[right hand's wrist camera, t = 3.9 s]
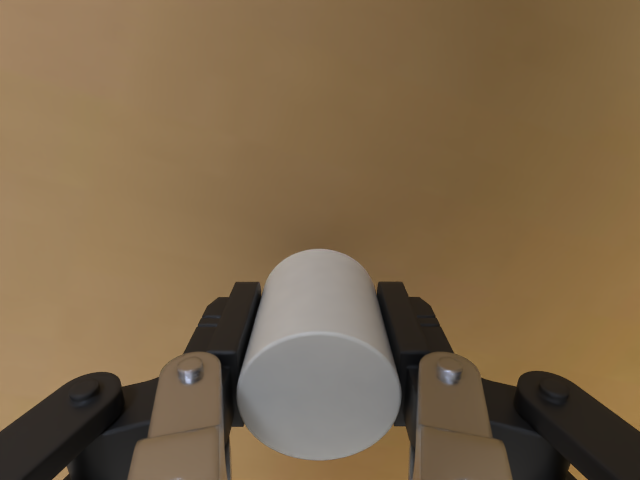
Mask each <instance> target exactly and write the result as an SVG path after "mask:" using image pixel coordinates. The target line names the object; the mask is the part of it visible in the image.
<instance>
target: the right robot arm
mask: <svg viewBox="0 0 640 480" xmlns="http://www.w3.org/2000/svg"><path fill="white" fill-rule="evenodd" d="M377 299H378V302H379V306H380V310H381V313H382V317H383V321H384V325H385V328H386V332H387V336H388V340H389V343H390V347H391V351H392V354H393V358H394V362H395V366H396V369H397V373H398V377H399V380H400V384H401V392H402V397H401V405H400V409H399V413H398V415H397V417H396V420H395V422H394V426H406V428H407V432H408V436H409V440H410V447H409V469H408V480H577V479H576V478H575V477H574V476H573V475H572V474H571V473H570V472H568V469H569V466H570V463H571V464H572V465H573V466H574V467H575V468H576V469H577V470H578V471H579V472H580V473H581V474H583V475H584V476H585V477H586V478H587V479H588V480H640V432H639V431H638V430H637V429H635V428H634V427H633V426H631V425H630V424H629V423H627V422H626V421H624V420H623V419H622V418H620V417H619V416H618V415H616V414H615V413H614V412H612V411H611V410H609V409H608V408H607V407H605V406H604V405H603V404H601V403H600V402H599V401H597V400H596V399H595V398H593V397H592V396H590V395H589V394H588V393H586V392H585V391H584V390H582V389H581V388H580V387H578V386H577V385H575V384H574V383H572V382H571V381H569V380H567V379H565V378H563V377H561V376H559V375H556V374H553V373H549V372H543V371H531V372H527V373H524V374H523V375H521V376H520V378H519V380H518V383H517V387H515V386H511V385H507V384H502V383H498V382H493V381H489V380H486V379H483V378H481V376H480V372H479V370H478V369H477V367H476V366H475V365H474V364H473V363H472V362H471V361H469V360H468V359H466V358H464V357H462V356H460V355H457V354H454V352H453V350H452V348H451V346H450V344H449V342H448V340H447V338H446V336H445V334H444V332H443V330H442V328H441V327H440V324H439V322H438V320H437V318H436V317H435V314H434V312H433V310H432V308H431V306H430V305H429V304H427V303H426V302H425V301H424V300H422V299H421V298H420V297H408V294H407V292H406V289H405V287H404V285H403V282H379V283H378V287H377ZM260 300H261V287H260V283H259V282H236V283H235V285H234V287H233V289H232V292H231V294H230V296H229V297H218V298H217V299H216V300H215V301H213V302H212V303H211V304H209V305H208V306H207V308H206V310H205V312H204V314H203V316H202V318H201V320H200V322H199V324H198V327H197V328H196V330H195V332H194V334H193V336H192V337H191V339H190V341H189V343H188V345H187V347H186V349H185V351H184V353H183V355H180V356H178V357H176V358H174V359H172V360H171V361H169V362H168V363H167V364H166V365H165V366H164V367H163V369H162V370H161V372H160V376H159V377H158V378H155V379H152V380H149V381H146V382H141V383H137V384H133V385H128V386H124V387H122V386H121V382H120V379H119V378H118V377H117V376H116V375H114V374H112V373H108V372H96V373H90V374H86V375H83V376H80V377H78V378H75V379H73V380H71V381H70V382H68V383H66V384H65V385H63V386H62V387H60V388H59V389H58V390H56V391H55V392H54V393H52V394H51V395H50V396H48V397H47V398H45V399H44V400H43V401H41V402H40V403H39V404H37V405H36V406H35V407H33V408H32V409H31V410H29V411H28V412H26V413H25V414H24V415H22V416H21V417H20V418H18V419H17V420H16V421H14V422H13V423H11V424H10V425H9V426H7V427H6V428H5V429H3V430H2V431H1V432H0V480H52V479H53V478H54V477H55V476H56V475H57V474H58V473H60V472H61V471H62V470H63V469H64V468H65V467H66V466H67V468H68V471H69V474H68V475H67V476H66V477H65V478H64V479H63V480H232V469H231V447H230V439H229V434H230V430H231V427H243V426H244V422H243V420H242V418H241V416H240V413H239V409H238V406H237V399H236V389H237V384H238V379H239V376H240V372H241V368H242V365H243V361H244V358H245V354H246V350H247V347H248V343H249V340H250V336H251V332H252V329H253V325H254V322H255V318H256V314H257V311H258V307H259V304H260Z"/></svg>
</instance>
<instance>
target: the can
mask: <svg viewBox="0 0 640 480" xmlns="http://www.w3.org/2000/svg"><path fill="white" fill-rule="evenodd" d="M401 397H402V392H401V384H400V380H399V377H398V373H397V369H396V366H395V362H394V358H393V354H392V351H391V347H390V343H389V340H388V336H387V332H386V328H385V325H384V321H383V317H382V313H381V310H380V306H379V302H378V299H377V295H376V291H375V287H374V284H373V282H372V279H371V277H370V276H369V274H368V272H367V271H366V270H365V269H364V267H363V266H362V265H361V264H359V263H358V262H357V261H356V260H354V259H353V258H351V257H349V256H347V255H346V254H343V253H340V252H338V251H333V250H328V249H311V250H305V251H301V252H298V253H295V254H293V255H291V256H289V257H287V258H286V259H284V260H283V261H282V262H280V263H279V264H278V265H277V266H276V267H275V268H274V269H273V270H272V272H271V273H270V275H269V276H268V278H267V280H266V283H265V286H264V289H263V293H262V296H261V300H260V304H259V307H258V311H257V314H256V318H255V322H254V325H253V329H252V332H251V336H250V340H249V343H248V347H247V350H246V354H245V358H244V361H243V365H242V368H241V372H240V376H239V379H238V384H237V389H236V399H237V406H238V409H239V413H240V416H241V418H242V420H243V422H244V424H245V425H246V427H247V428H248V430H249V431H250V432H251V433H252V434H253V435H254V436H255V437H256V438H257V439H258V440H259V441H261V442H262V443H263V444H265V445H266V446H268V447H269V448H271V449H273V450H275V451H277V452H279V453H282V454H284V455H287V456H291V457H294V458H299V459H305V460H333V459H339V458H344V457H347V456H350V455H354V454H356V453H359V452H361V451H363V450H365V449H367V448H368V447H370V446H372V445H373V444H375V443H376V442H377V441H379V440H380V439H381V438H382V437H383V436H384V435H385V434H386V433H387V432H388V431H389V429H390V428H391V427H392V425H393V423H394V422H395V420H396V417H397V415H398V413H399V409H400V405H401Z"/></svg>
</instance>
